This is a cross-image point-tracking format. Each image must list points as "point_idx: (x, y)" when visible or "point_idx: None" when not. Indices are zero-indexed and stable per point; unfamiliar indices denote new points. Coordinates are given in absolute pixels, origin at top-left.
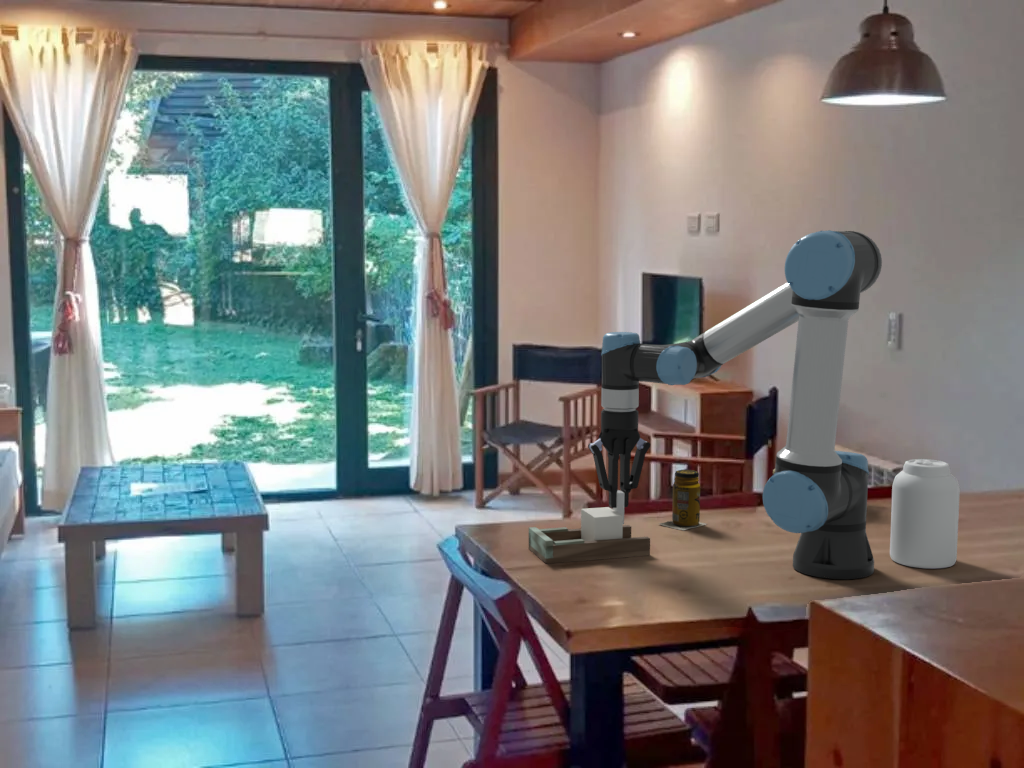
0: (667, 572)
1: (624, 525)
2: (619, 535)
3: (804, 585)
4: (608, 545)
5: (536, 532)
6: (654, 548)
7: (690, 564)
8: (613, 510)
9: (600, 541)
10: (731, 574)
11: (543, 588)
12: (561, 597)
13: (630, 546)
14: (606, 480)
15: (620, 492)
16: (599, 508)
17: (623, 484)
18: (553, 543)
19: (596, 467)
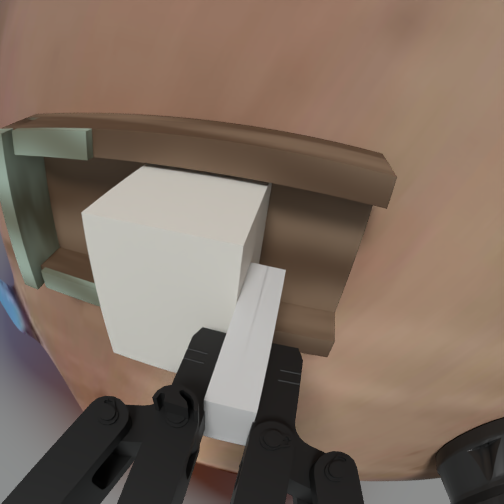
0: None
1: (373, 174)
2: None
3: (396, 465)
4: None
5: (2, 199)
6: (394, 271)
7: (355, 391)
8: (229, 320)
9: None
10: (365, 434)
11: (59, 347)
12: (81, 378)
13: None
14: (108, 477)
15: (228, 435)
16: (172, 252)
17: (235, 484)
18: (45, 269)
19: (16, 500)
